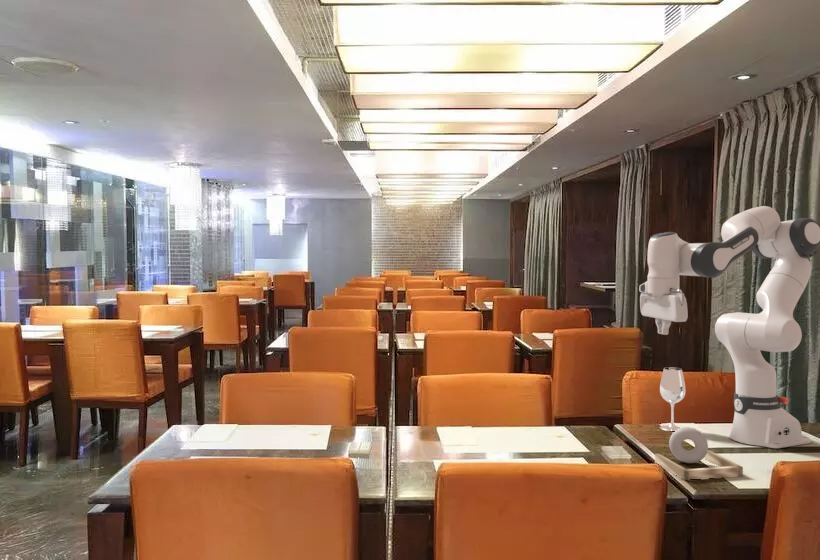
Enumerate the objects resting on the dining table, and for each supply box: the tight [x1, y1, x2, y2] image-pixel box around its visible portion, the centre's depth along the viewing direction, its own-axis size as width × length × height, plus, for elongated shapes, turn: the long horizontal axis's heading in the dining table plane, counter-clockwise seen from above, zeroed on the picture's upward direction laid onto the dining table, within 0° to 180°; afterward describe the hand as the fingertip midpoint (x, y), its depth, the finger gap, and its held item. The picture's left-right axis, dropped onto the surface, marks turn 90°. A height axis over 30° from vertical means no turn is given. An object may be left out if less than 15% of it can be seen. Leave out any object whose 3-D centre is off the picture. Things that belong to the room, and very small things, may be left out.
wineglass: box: [659, 366, 686, 432], centre depth 213 cm, size 8×8×20 cm
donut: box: [668, 426, 709, 464], centre depth 180 cm, size 10×3×10 cm, turn 65°
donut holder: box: [654, 449, 744, 481], centre depth 175 cm, size 16×14×2 cm
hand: (663, 334), depth 192 cm, fingers closed
